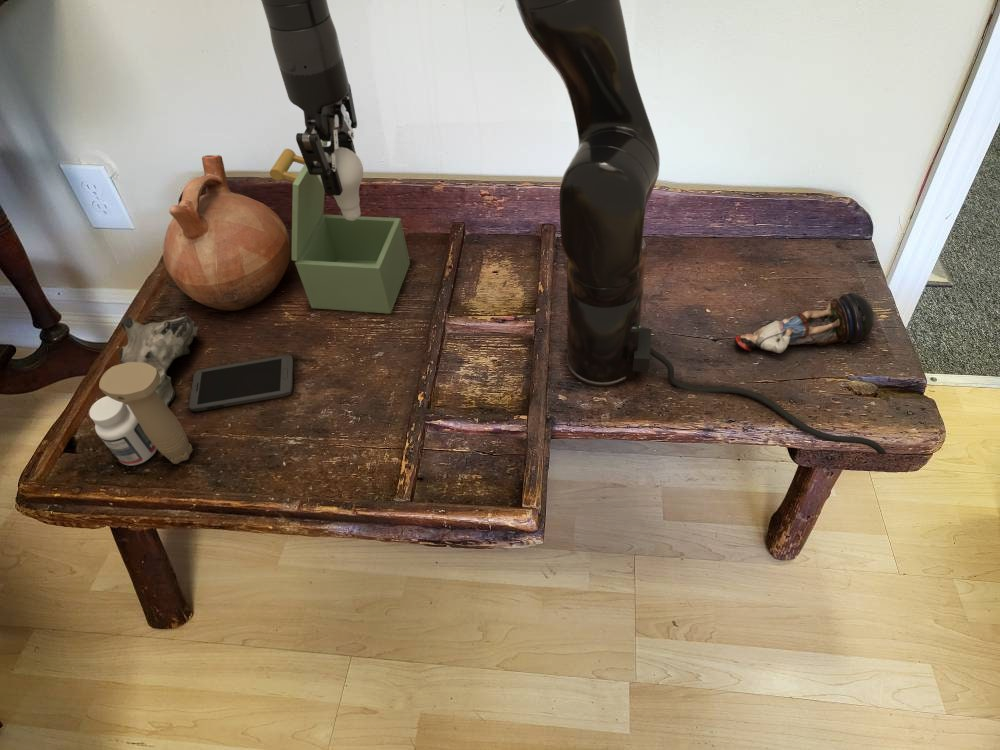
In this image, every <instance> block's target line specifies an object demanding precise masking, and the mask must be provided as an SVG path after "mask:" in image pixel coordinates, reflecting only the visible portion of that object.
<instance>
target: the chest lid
mask: <svg viewBox="0 0 1000 750" xmlns="http://www.w3.org/2000/svg"><path fill="white" fill-rule="evenodd" d="M322 146H328V142H325V141H322ZM313 162H314V161H313ZM293 163H296V164H300V165H303V166H302V168H301V169H300V171H299V173H298V174H295V173H291V172H288V171H289V169H290V168H291V166H292V165H293ZM269 176H270V177H271V178H272V179H273V180H275V181H282V180H283V179H284V180H287V181H291V182H292V206H291V207H292V208H291V210H292V211H291V261H294V262H296V261H297V260H298V258H299V256H300V255H301V253H302V251H303V249H304V247H305V245H306V244H307V242H308V240H309V238H310V236H311V234H312V233H313V231H314V229H315V227H316V225H317V223H318V222H319V220H320V218H321V216H322V214H323V215H324V210H325V209H324V208H325V195H326V193H325V190H324V186H323V185H322V184H321V182H320V181H319V179H318V176H317V175H310V174H309V172H308V169H307V167H306V164H305V162H304V159H303V156H300V155H297V154H296V153H295V151H294V150H293V149H291V148H285V149H283V151H282V152H281V154H280V155H279V157H278V158H277V160H276V161H275V163H274V165H273V166H272V168H270V170H269Z"/></svg>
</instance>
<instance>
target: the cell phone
mask: <svg viewBox="0 0 1000 750" xmlns="http://www.w3.org/2000/svg"><path fill="white" fill-rule="evenodd" d="M191 383H192V384H191V389H190V396H189V402H188V407H189V410H190V411H191V412H196V413H197V412H203V411H208V410H214V409H221V408H225V407H232V406H237V405H243V404H249V403H255V402H261V401H267V400H273V399H278V398H285V397H288V396H289V397H290V396H291V395H292V393H293V390H294V357H293V356H292V355H290V354H284V355H277V356H272V357H271V356H270V357H265V358H260V359H253V360H247V361H242V362H241V361H240V362H235V363H230V364H224V365H218V366H212V367H206V368H201V369H200V368H199V369H197V370H196V371H195V372H194V373H193V377H192V382H191Z"/></svg>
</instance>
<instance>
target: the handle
mask: <svg viewBox="0 0 1000 750" xmlns="http://www.w3.org/2000/svg"><path fill="white" fill-rule="evenodd" d="M159 383H160V374H159V372H158V371H157V369H156V368H154V367H153V366H151V365H149V364H147V363H142V362H127V363H123V364H122V363H119V364H115V365H113V366H111V367H110V368H108V369H107V370H106V371H105V372H104V373H103V374H102V376H101V377H100V379H99V383H98V387H99V389H100V391H101V392H102V393H103V394H104V395H105V396H108V397H110V398H112V399H114V400H116V401H119V402H122V403H125V404H126V405H128V406H129V408H130V409H131V411H132V413H133V414H134V416H135V417H136V419H137V421H138V422H139V424H140V426H141V427H142V429H143V431H144V433H145V434H146V436H147V437H148V438H149V440H150V441H151V442H152V444H153V445H154V446H155V447H156V448H157V451H158V452H160V453H161V455H163V456H164V457H165V458H166V459H167V460H168V461H169V462H171V463H172V464H173V465H174V464H175V465H177V464H179V463H181V462H185V461H187V460H189V459H190V455H191V454H192V453H193V451H194V450H193V446H192V445H191V443H189V438H188V436H187V434H186V432H185V430H184V427H183V426H182V424H181V422H180V421H179V420H178V418H177V416H176V415H175V414H174V413H173V412H172V411H171V409H170V408H169V407H167V405H166V404H165V403H164V402H163V400H162V399H161V398H160V396H159V395H158V394H157V392H156V391H155V390H156V388H157V387H158V385H159Z"/></svg>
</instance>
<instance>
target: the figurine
mask: <svg viewBox="0 0 1000 750" xmlns="http://www.w3.org/2000/svg"><path fill="white" fill-rule="evenodd" d="M873 309H874V308H873V306H872V305H871V303H870V302H869V300H867V299H866V298H865V296H862V295H860V294H858V293H855V292H849V293H846V294H841V296H839V298H832V300H831V301H828V303H827V306H826V309H825V310H805V311H803V312H800V313H798V314H797V315H793V316H791V317H789V318H783V320H774V321H773V322H771V323H768V324H767V325H764V326H761V327H760V328H759V329H757V330H756V331H753V332H752V333H745V334H743V335H736V336H734V343H735V345H737V346H738V348H740V349H742V350H744V351H749V352H751V351H752V350H753V348H754V349H756V348H758V349H761V350H764V351H768V352H773V353H777V354H781V353H783V352H784V351H786V349H787V348H788V346H793V345H794V346H795V345H812V344H813V345H815V346H820V347H822V346H828V345H830V344H833V343H840V342H841V343H847V342H850V343H852V344H853V343H855V344H858V343H859V342H860V341H862V340H866V338H867V337H868V336H869V335H870V333H871V331H872V330H873V327H874V323H875V313H874V310H873Z"/></svg>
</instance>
